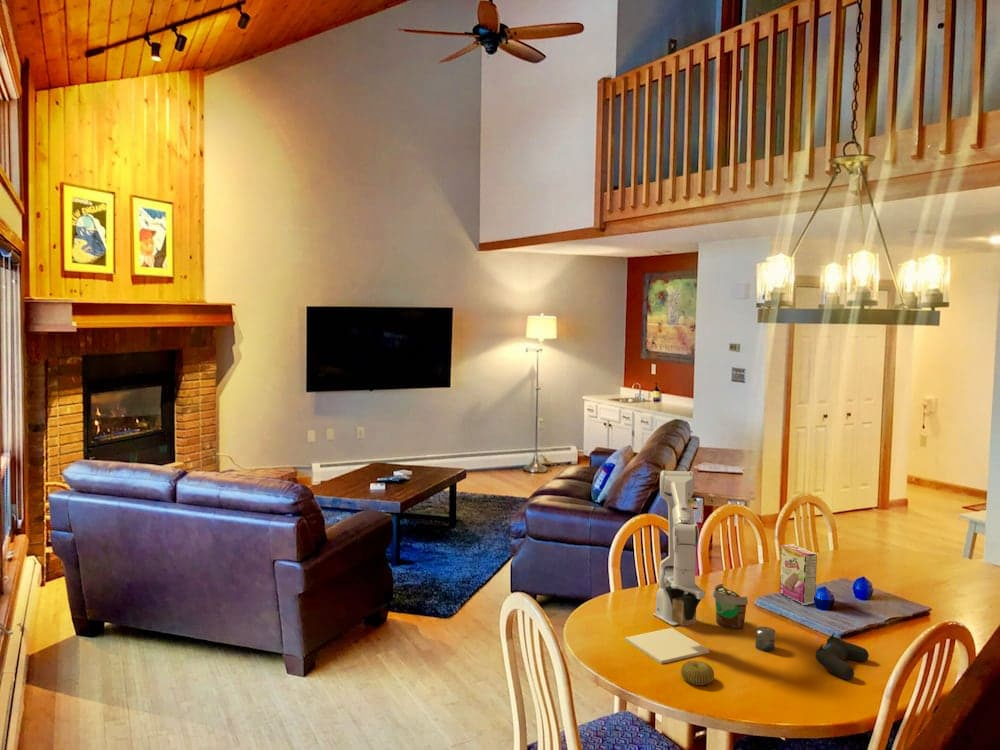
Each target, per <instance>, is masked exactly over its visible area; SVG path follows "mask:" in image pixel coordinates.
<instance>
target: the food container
mask: <svg viewBox="0 0 1000 750" xmlns="http://www.w3.org/2000/svg"><path fill="white" fill-rule="evenodd" d="M712 597H713V598H714V600H715V604H714V605H715V620H716V621H715V623H716V624H717V625H718V626H720V627H722V628H724V629H728V630H737V631H738V630H739V631H740V630H741V631H742V630H744V628H745V619H746V610H747V609H746V608H747V605H748V604H749V603H748V602H749V600H748V597H747V596H740V595H739V594H738V593H737V592H736V591H733V590H730V589H727V588H725V587H724V583H719V584H717V585H716V586H715V587H714V588H713V591H712Z"/></svg>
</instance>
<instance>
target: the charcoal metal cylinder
mask: <svg viewBox="0 0 1000 750" xmlns="http://www.w3.org/2000/svg"><path fill="white" fill-rule="evenodd" d="M754 646H755V649H757V650H758V651H761V652H763V651H764V652H765V653H770V652H771V651H772V652H774V651H776V630H775V629H773V628H772V627H769V626H758V627H756V628H755V645H754ZM772 652H771V653H772Z"/></svg>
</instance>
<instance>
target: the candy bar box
mask: <svg viewBox="0 0 1000 750" xmlns="http://www.w3.org/2000/svg"><path fill="white" fill-rule="evenodd" d="M817 561H818V553H816V552H813V551H811V550H808V549H806V548H804V547H801V546H799V545H796V544H795V543H789V544H782V545H781V547H780V569H779V570H780V574H779V594H780V595H781V594H783V595H786V596H788V597H790V598H793V599H795V600H798V601H800V602H803V603H806V602H811V601H813V599H814V595H815V596H816V588H817V587H816V585H817V565H818V564H817V563H818V562H817ZM783 595H782V596H783Z"/></svg>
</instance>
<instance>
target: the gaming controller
mask: <svg viewBox="0 0 1000 750" xmlns="http://www.w3.org/2000/svg"><path fill="white" fill-rule="evenodd" d="M846 658H848V659H851V660H854V661H857V662H861V663H864V662H866V661H867V660H868V659H869V652H868V650H867V649H866V648H865V647H862V646H860V645H857V644H854V643H851V642H849V641H845V640H843V639H841V638H839V637H836V636H835V633H832V634H831V635H830V636H829V637H828V638H827V639H826V644H821V645H820V646H819V647H818V648H817V649H816V650H815V659H816V661H817V662H818V663H819V664H820V665H822V667H824V668H825V669H826V670H828V671H829V672H831V673H833V674H834V675H836V676H838V677H839V678H841V679H843V680H846V681H848V680H851V679H853V678H854V675H855V670H854V668H853V667H852V666H851V665H850V664H848V663H847V662H845V659H846Z"/></svg>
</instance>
